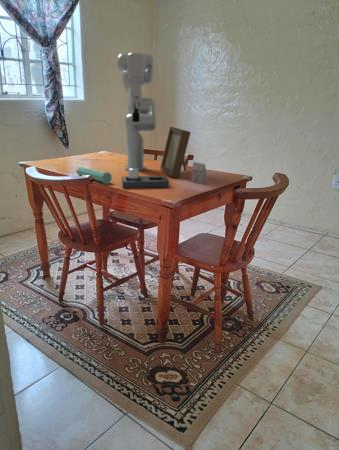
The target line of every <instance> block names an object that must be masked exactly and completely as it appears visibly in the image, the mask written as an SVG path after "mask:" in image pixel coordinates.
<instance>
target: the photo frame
mask: <svg viewBox="0 0 339 450" xmlns="http://www.w3.org/2000/svg"><path fill="white" fill-rule="evenodd" d="M168 130H169V131H168V135H167V139H166V143H165V146H164V152H163V156H162V159H161V164H160V169H161V170H162V172H164V173H166V174H168V175H169V176H171V177H174V178H179V179H180V176H181V171H182V167H183V171H184V173H186V172H187V171H188V170H187V163H186V160H185V156H186V155H185V154H186V152H187V149H188V145H189V140H190V137H191V131H188V130H185V129H181V128H179V127H173V126H169V129H168Z"/></svg>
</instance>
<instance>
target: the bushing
mask: <svg viewBox="0 0 339 450" xmlns="http://www.w3.org/2000/svg"><path fill="white" fill-rule="evenodd" d="M127 171H128V172H127V176H128V181H139V176H140V173H139V172H140V171H139V169H138V168H129V169H128V170H127Z"/></svg>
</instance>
